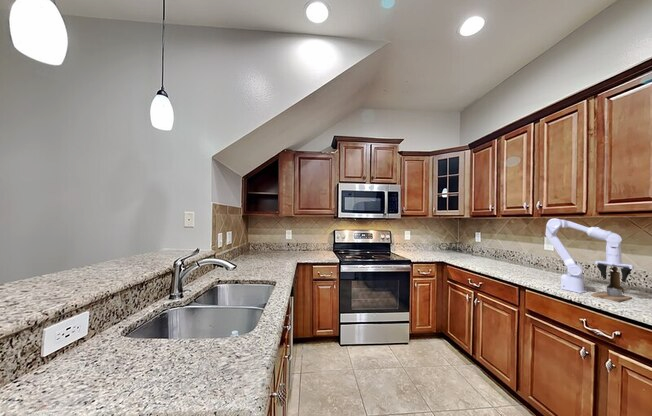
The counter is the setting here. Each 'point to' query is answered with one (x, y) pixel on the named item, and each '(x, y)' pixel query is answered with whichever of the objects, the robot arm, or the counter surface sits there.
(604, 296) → the post board
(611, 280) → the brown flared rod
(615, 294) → the hub ring
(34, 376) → the counter surface
